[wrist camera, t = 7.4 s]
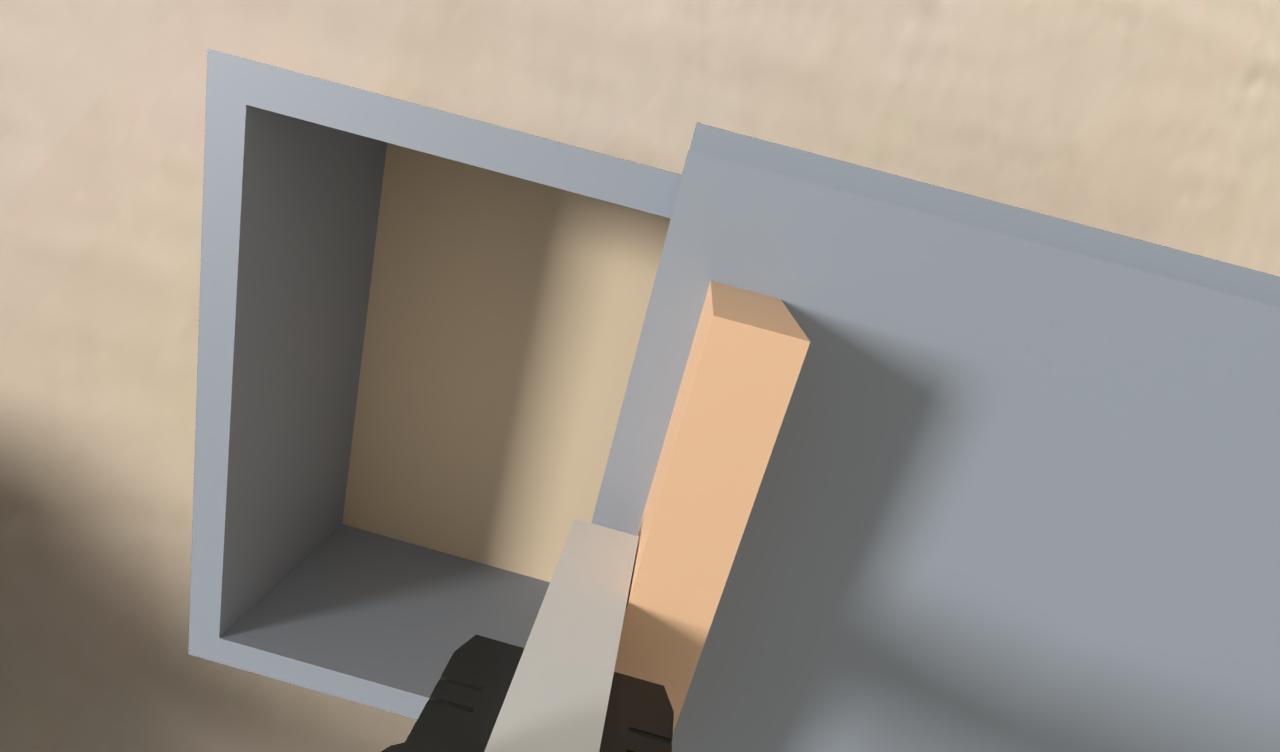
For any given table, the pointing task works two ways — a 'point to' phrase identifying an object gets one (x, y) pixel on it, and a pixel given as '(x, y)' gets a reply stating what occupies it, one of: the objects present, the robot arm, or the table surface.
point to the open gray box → (399, 375)
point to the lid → (944, 474)
